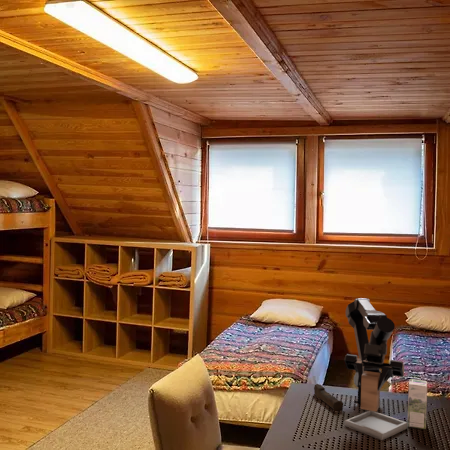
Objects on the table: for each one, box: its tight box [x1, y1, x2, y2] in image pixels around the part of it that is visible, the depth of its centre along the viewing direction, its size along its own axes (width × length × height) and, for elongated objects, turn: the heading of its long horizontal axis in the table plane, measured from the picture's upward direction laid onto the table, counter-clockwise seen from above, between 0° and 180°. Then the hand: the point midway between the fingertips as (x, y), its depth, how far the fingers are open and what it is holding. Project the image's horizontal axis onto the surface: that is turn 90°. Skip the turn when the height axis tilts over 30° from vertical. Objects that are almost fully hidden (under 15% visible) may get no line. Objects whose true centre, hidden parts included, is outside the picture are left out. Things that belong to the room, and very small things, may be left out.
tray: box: [344, 410, 408, 441], centre depth 186 cm, size 14×14×2 cm
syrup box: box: [407, 378, 428, 430], centre depth 188 cm, size 6×6×14 cm
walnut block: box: [360, 371, 381, 412], centre depth 184 cm, size 5×5×11 cm
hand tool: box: [313, 383, 344, 413], centre depth 208 cm, size 19×4×5 cm, turn 14°
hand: (369, 388), depth 183 cm, fingers closed on walnut block, 5 cm apart
